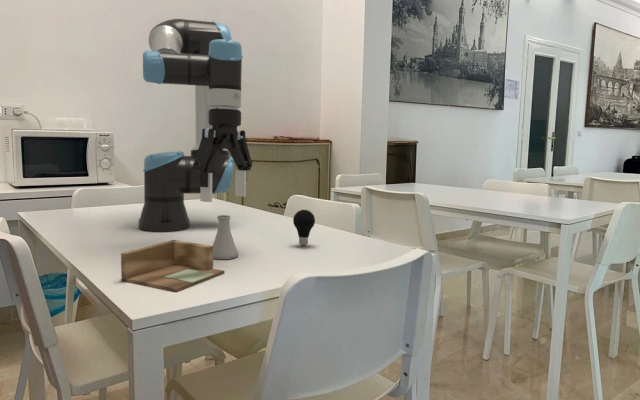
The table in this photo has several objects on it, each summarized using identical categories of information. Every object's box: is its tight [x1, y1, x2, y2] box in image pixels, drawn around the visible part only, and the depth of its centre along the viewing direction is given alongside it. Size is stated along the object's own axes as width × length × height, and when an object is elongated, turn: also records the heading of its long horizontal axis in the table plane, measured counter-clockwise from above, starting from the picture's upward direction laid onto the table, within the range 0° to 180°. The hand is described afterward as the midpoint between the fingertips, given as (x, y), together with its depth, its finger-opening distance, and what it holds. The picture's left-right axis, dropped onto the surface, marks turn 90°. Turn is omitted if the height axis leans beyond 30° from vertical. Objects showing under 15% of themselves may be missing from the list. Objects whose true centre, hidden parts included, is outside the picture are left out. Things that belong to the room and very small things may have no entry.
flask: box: [212, 214, 239, 260], centre depth 122 cm, size 7×7×10 cm
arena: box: [120, 239, 225, 293], centre depth 104 cm, size 14×15×6 cm
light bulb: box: [292, 209, 316, 247], centre depth 136 cm, size 6×6×10 cm
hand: (224, 198), depth 120 cm, fingers open, 13 cm apart
